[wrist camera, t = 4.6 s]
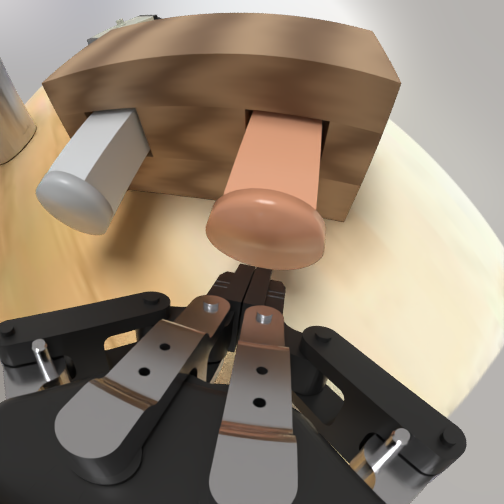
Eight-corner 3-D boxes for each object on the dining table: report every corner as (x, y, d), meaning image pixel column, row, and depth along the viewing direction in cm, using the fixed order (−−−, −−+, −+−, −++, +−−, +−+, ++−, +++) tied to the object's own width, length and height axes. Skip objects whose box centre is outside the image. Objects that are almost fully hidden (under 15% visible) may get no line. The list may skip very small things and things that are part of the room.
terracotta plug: (214, 258, 16) (195, 198, 11) (252, 134, 21) (252, 73, 16) (312, 276, 15) (338, 222, 10) (323, 145, 20) (336, 85, 15)
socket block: (100, 186, 24) (41, 83, 12) (141, 123, 28) (111, 29, 17) (343, 221, 22) (401, 83, 10) (343, 143, 26) (372, 31, 14)
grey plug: (64, 228, 17) (22, 183, 12) (125, 128, 22) (106, 80, 17) (120, 240, 16) (79, 186, 11) (178, 128, 21) (165, 73, 16)
